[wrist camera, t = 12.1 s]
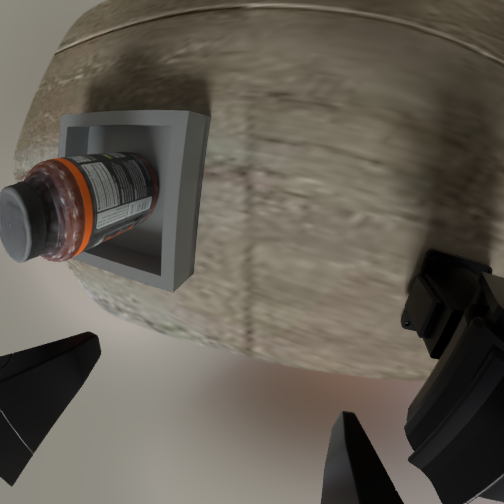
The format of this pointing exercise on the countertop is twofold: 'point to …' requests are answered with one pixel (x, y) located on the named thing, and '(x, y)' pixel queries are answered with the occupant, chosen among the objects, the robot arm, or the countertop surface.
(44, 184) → the supplement bottle
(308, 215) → the countertop surface
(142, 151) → the tray
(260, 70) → the countertop surface
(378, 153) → the countertop surface
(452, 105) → the countertop surface
